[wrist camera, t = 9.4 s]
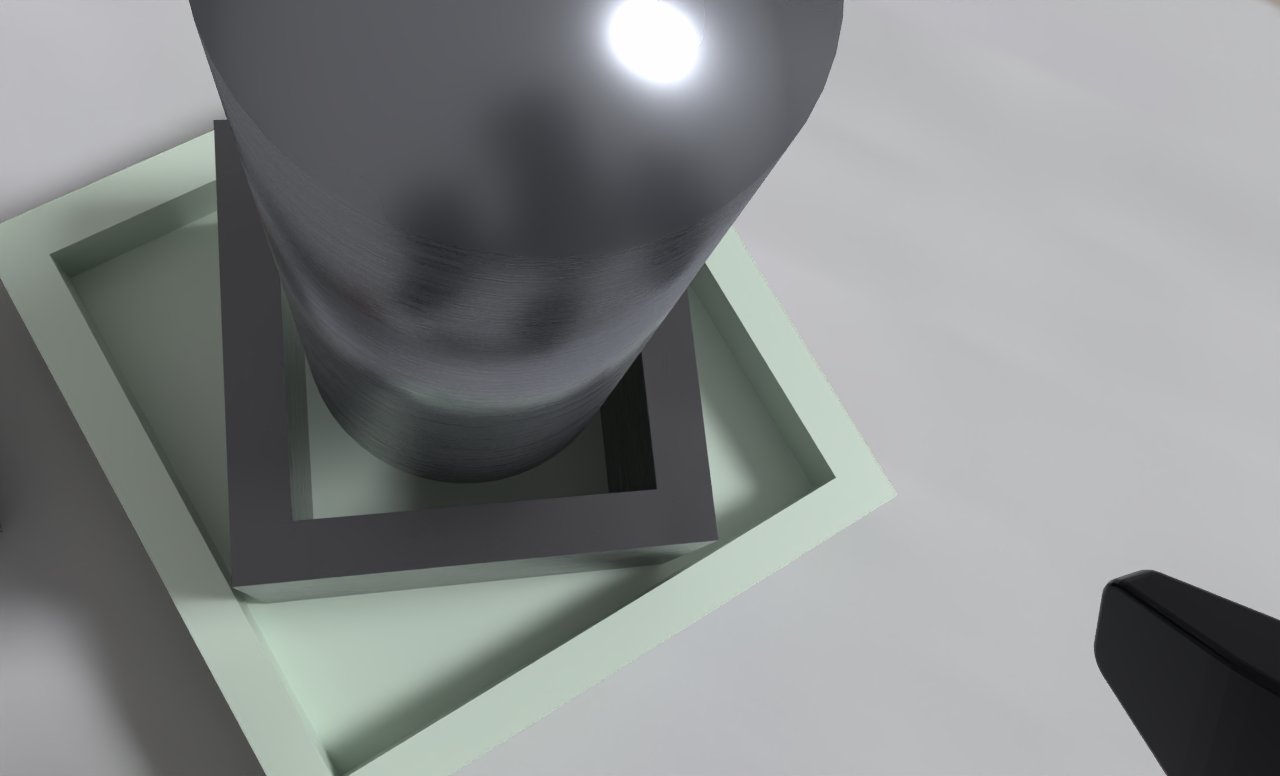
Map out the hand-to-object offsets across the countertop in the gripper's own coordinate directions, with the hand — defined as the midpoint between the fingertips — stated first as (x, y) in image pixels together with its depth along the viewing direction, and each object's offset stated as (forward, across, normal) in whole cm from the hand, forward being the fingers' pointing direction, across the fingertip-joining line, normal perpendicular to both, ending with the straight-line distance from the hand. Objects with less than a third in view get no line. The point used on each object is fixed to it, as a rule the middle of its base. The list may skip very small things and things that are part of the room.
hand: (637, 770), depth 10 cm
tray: (+12, 0, +3) cm, 12 cm away
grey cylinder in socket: (+12, 0, +3) cm, 12 cm away
